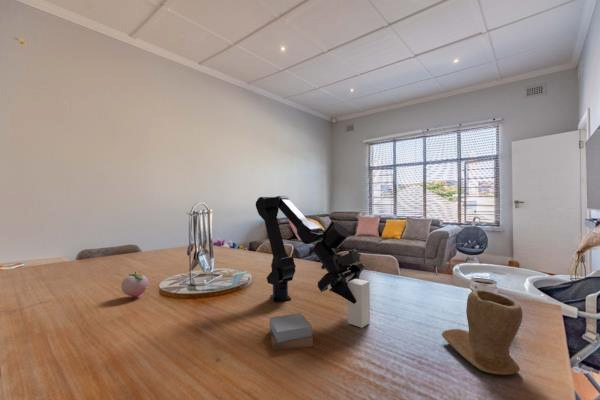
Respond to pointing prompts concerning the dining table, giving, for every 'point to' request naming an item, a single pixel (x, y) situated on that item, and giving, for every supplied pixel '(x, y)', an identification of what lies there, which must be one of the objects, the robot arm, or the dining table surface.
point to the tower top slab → (290, 327)
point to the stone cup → (488, 332)
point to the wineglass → (483, 285)
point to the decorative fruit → (134, 285)
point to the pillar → (359, 303)
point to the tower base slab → (291, 342)
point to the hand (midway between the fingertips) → (359, 300)
